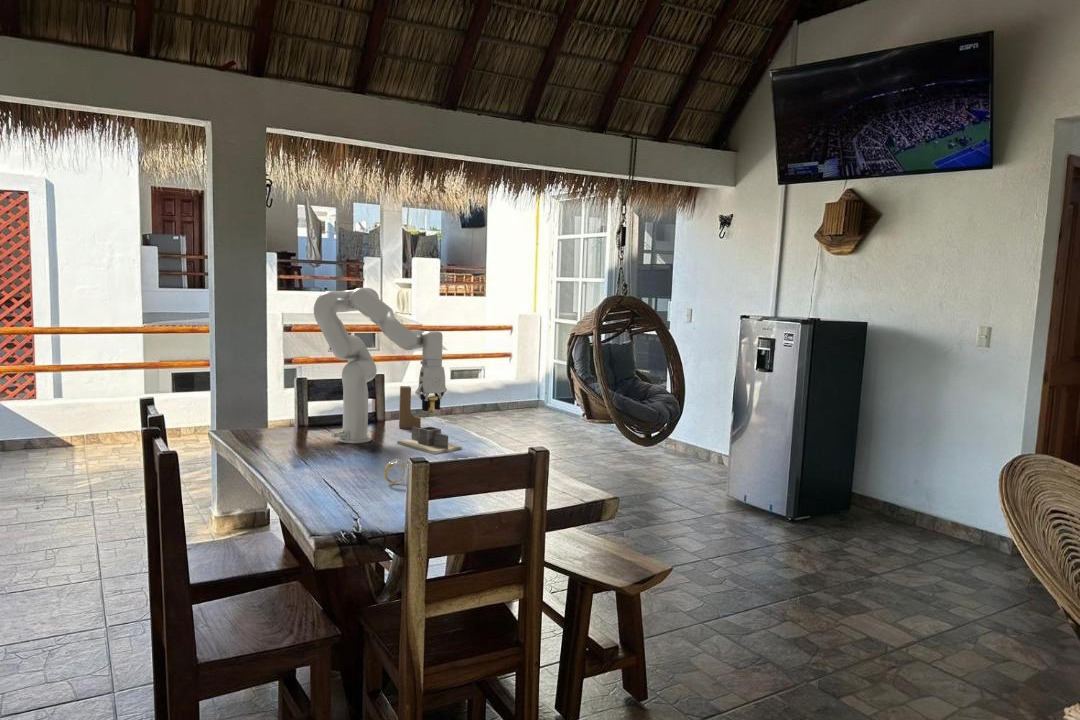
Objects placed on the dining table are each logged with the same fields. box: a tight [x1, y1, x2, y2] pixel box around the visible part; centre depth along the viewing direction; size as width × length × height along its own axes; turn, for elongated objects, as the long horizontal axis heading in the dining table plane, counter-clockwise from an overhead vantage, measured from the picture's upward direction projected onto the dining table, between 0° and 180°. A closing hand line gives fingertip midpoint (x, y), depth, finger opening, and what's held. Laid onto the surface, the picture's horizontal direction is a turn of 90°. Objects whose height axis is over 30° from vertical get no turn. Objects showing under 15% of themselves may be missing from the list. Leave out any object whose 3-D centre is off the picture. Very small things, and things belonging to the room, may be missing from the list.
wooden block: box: [398, 385, 422, 430], centre depth 314 cm, size 9×4×18 cm, turn 103°
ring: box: [383, 458, 408, 485], centre depth 227 cm, size 7×3×8 cm, turn 105°
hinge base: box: [396, 426, 463, 455], centre depth 281 cm, size 14×22×7 cm, turn 48°
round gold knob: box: [426, 395, 438, 414], centre depth 280 cm, size 5×5×6 cm
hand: (431, 409), depth 280 cm, fingers closed on round gold knob, 4 cm apart
